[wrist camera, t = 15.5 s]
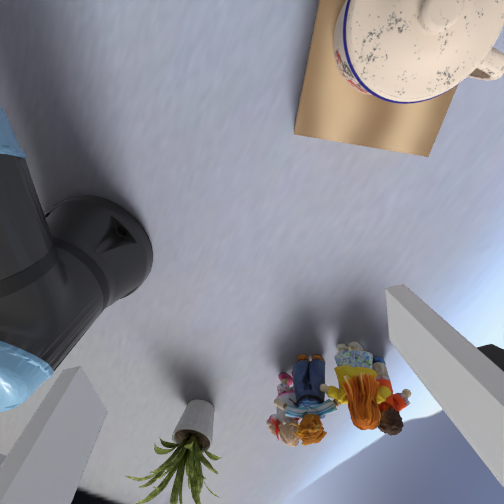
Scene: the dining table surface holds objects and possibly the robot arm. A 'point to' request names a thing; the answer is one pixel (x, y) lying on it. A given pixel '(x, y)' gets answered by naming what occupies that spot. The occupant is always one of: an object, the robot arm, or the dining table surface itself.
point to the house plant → (186, 453)
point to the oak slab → (359, 102)
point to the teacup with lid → (417, 46)
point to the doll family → (336, 396)
